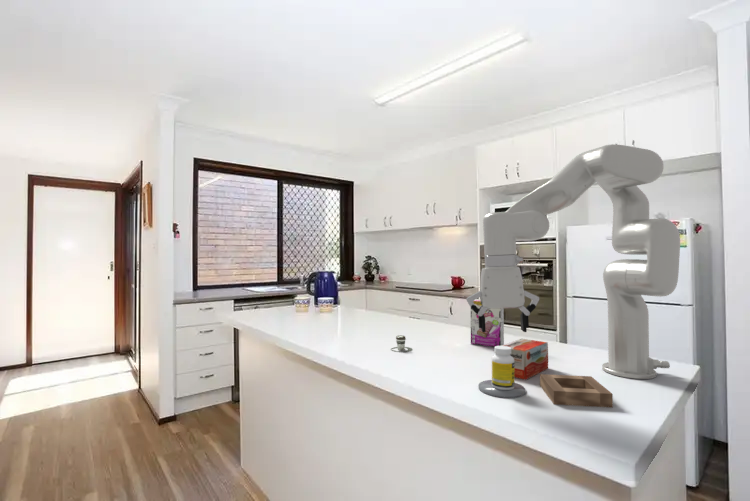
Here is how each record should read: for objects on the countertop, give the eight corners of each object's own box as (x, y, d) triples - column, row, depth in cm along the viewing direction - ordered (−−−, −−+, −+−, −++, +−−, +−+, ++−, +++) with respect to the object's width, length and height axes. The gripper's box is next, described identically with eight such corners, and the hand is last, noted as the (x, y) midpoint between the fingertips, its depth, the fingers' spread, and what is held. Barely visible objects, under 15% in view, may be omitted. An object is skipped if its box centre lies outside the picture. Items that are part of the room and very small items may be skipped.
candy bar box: (470, 344, 141) (469, 300, 141) (474, 341, 146) (473, 298, 146) (501, 348, 135) (500, 302, 135) (504, 345, 140) (504, 300, 140)
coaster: (520, 383, 99) (520, 380, 99) (529, 399, 88) (529, 396, 88) (476, 381, 101) (476, 378, 101) (480, 396, 90) (480, 393, 90)
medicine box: (521, 363, 117) (521, 337, 117) (549, 369, 111) (548, 341, 112) (497, 374, 107) (497, 345, 107) (526, 381, 101) (526, 351, 101)
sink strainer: (423, 348, 138) (422, 334, 138) (409, 356, 127) (408, 341, 127) (393, 344, 144) (393, 331, 144) (377, 351, 133) (377, 337, 133)
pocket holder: (591, 388, 95) (591, 376, 95) (612, 407, 83) (612, 393, 83) (540, 386, 97) (539, 374, 97) (553, 404, 85) (553, 390, 85)
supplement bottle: (516, 391, 91) (515, 350, 91) (492, 390, 92) (492, 349, 92) (512, 384, 97) (512, 345, 97) (490, 382, 98) (490, 344, 98)
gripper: (533, 260, 97) (536, 327, 97) (464, 263, 100) (466, 328, 100) (541, 261, 90) (544, 334, 90) (465, 264, 93) (468, 334, 93)
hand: (503, 331), depth 95 cm, fingers open, 9 cm apart
